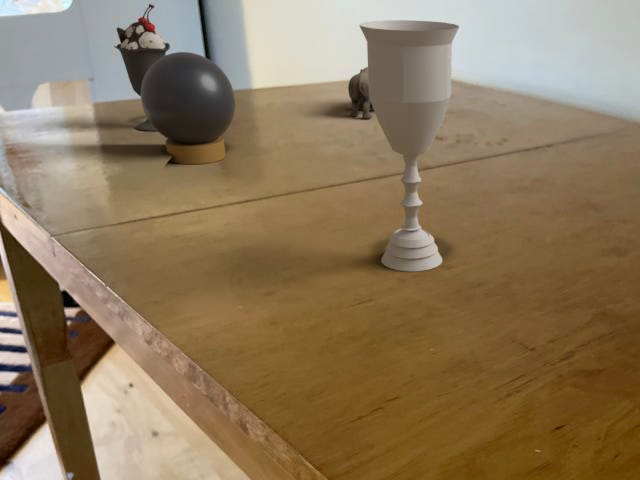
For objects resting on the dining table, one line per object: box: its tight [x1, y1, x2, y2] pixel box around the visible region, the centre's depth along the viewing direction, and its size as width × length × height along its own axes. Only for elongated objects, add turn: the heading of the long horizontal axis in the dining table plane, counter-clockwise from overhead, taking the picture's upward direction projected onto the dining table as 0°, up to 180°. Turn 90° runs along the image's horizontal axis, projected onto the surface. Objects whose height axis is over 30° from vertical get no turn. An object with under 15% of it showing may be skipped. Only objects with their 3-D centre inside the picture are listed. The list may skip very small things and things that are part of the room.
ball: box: [140, 51, 236, 165], centre depth 88 cm, size 10×10×12 cm
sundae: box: [113, 3, 171, 132], centre depth 100 cm, size 7×7×15 cm
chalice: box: [358, 19, 460, 272], centre depth 60 cm, size 7×7×18 cm
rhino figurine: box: [347, 66, 374, 119], centre depth 117 cm, size 4×14×6 cm, turn 179°
